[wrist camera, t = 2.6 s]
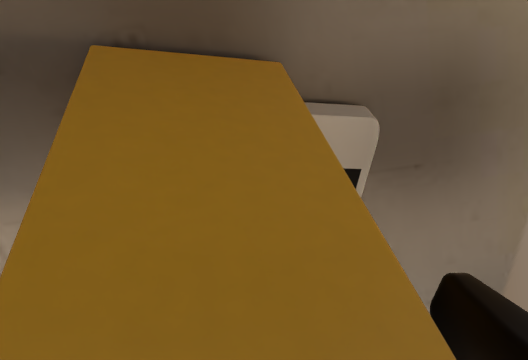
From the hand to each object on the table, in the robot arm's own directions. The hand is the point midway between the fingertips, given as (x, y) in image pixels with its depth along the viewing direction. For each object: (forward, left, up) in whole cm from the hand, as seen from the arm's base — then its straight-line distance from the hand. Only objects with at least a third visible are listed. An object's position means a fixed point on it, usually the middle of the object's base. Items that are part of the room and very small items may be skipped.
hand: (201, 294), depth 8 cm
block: (0, 0, -6) cm, 6 cm away
